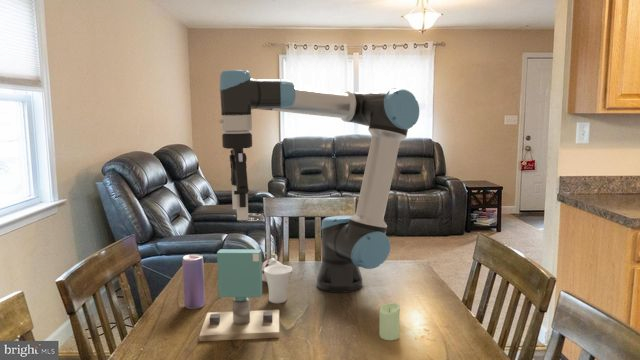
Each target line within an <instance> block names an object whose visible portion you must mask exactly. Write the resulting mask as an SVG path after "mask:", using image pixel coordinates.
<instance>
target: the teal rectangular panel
mask: <svg viewBox="0 0 640 360" xmlns="http://www.w3.org/2000/svg"><path fill="white" fill-rule="evenodd" d="M216 260H217V282H218V283H217V288H218V289H217V290H218V298H234V299H235V300H236V301H239V302H241V301H245V300H246V299H247V298H261V297H262V294H263V281H262V265H263V263H262V249H257V248H256V249H255V248H254V249H250V248H249V249H248V248H247V249H245V248H243V249H238V248H237V249H236V248H235V249H234V248H233V249H230V248H229V249H225V248H224V249H223V248H221V249H219V250H218V251H217V252H216Z"/></svg>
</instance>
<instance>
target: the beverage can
mask: <svg viewBox="0 0 640 360" xmlns="http://www.w3.org/2000/svg"><path fill="white" fill-rule="evenodd" d="M204 268H205V266H204V258H203V255H202V254H197V253H194V254H193V253H192V254H186V255H184V256H183V257H182V281H183V282H182V283H183V301H184V307H185V308H186V309H189V310H198V309H201V308H202V307H204V305H205V303H206V297H205V296H206V295H205V292H206V290H205V271H204V270H205V269H204Z"/></svg>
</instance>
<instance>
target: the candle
mask: <svg viewBox="0 0 640 360" xmlns="http://www.w3.org/2000/svg"><path fill="white" fill-rule="evenodd" d="M400 311H401V309H400V305H399V304H398V303H396V302H389V303H386V304H383V305H382V306H381V307H380V308H379V323H378V324H379V326H378V327H379V333H378V335H379V337H380V339H383V340H385V341H396V340H398V339H399V338H400V313H401V312H400Z"/></svg>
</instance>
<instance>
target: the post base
mask: <svg viewBox="0 0 640 360" xmlns="http://www.w3.org/2000/svg"><path fill="white" fill-rule="evenodd" d="M204 318H205V319H204V321H203V323H202V327H201V329H200V332H199V336H198V338H199V342H208V341H209V342H211V341H213V342H214V341H228V340H229V341H232V340H255V339H256V340H257V339H274V338H275V339H276V338H277V339H278V338H280V309H264V310H261V309H260V310H251V308H250V299H249V297H247V299H246V300H245V301H241V302H239V301H236V300H235V298H234V299H232V311H216V312H215V311H214V312H210V311H209V312H207V313H206V315H205V317H204Z"/></svg>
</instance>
